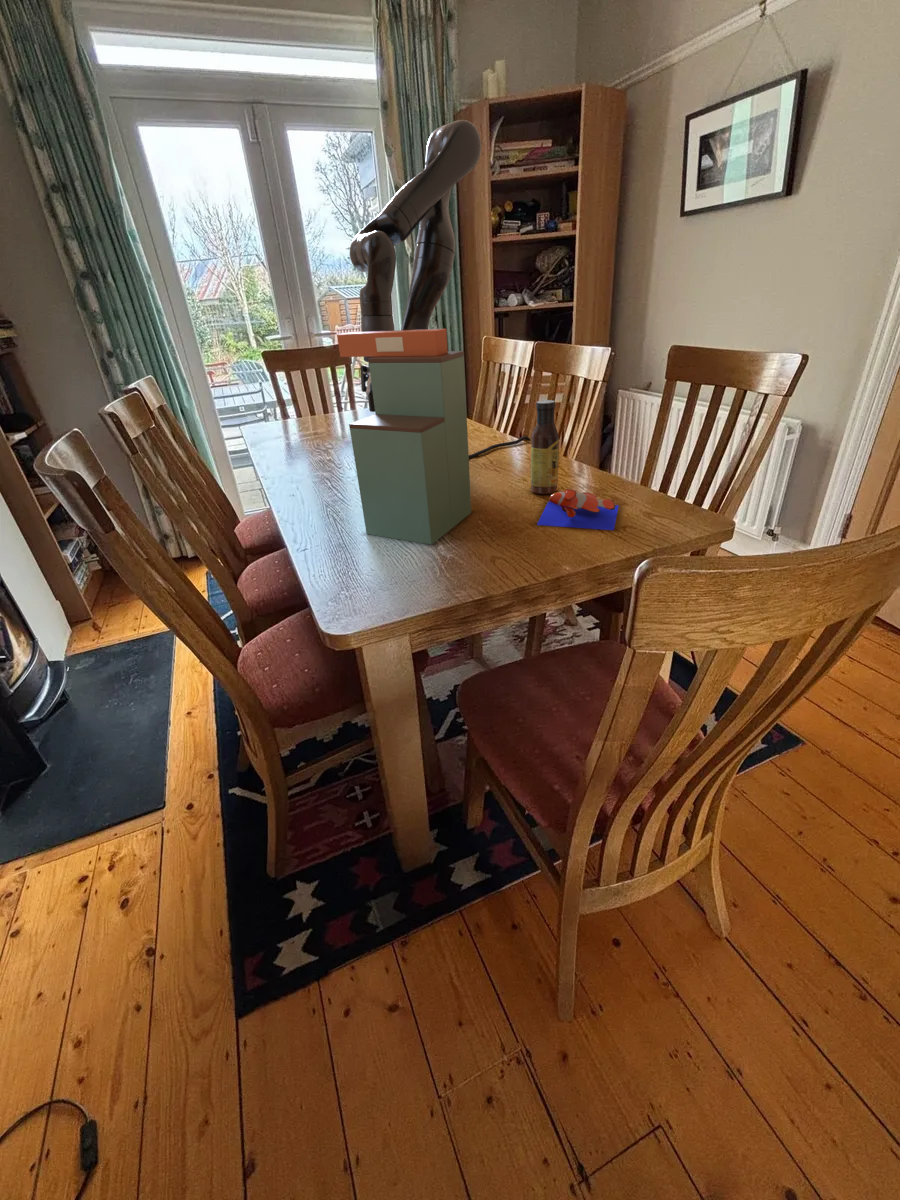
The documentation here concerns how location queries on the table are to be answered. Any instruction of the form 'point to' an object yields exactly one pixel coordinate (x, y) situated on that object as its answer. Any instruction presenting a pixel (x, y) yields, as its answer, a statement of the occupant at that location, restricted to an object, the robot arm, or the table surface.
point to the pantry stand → (414, 448)
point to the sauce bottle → (544, 450)
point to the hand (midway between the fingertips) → (384, 413)
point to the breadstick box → (393, 343)
